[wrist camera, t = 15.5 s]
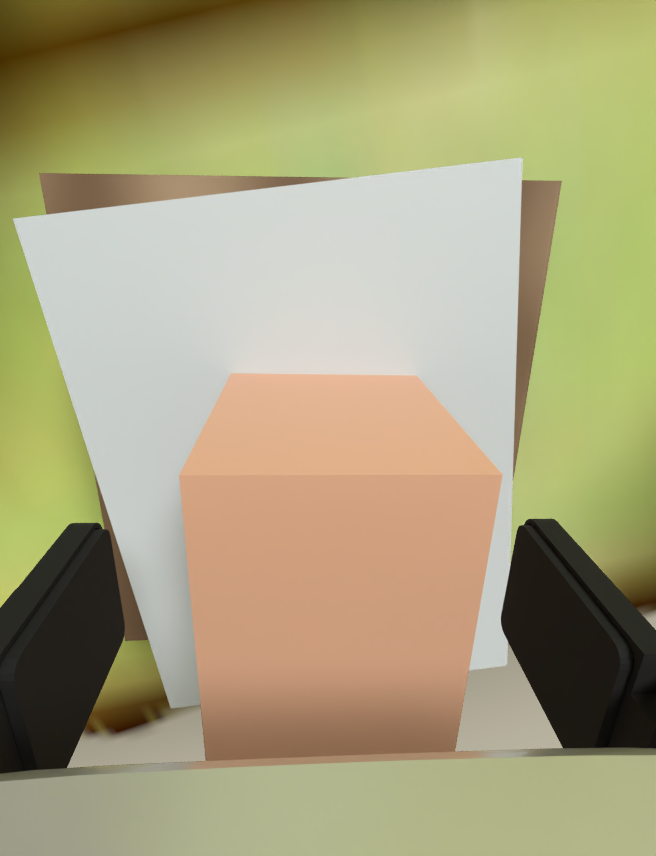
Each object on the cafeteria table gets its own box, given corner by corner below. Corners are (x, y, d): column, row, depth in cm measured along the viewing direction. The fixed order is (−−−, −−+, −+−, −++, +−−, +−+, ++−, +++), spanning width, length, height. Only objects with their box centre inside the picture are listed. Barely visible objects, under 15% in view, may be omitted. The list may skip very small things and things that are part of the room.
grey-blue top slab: (468, 177, 15) (522, 157, 11) (470, 589, 21) (507, 665, 17) (83, 223, 15) (12, 218, 11) (193, 624, 21) (170, 708, 17)
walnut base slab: (510, 192, 19) (561, 180, 15) (461, 571, 26) (488, 628, 22) (92, 186, 18) (39, 173, 14) (151, 580, 25) (125, 640, 21)
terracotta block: (416, 375, 13) (502, 474, 8) (396, 585, 16) (450, 775, 10) (230, 373, 13) (179, 475, 7) (241, 588, 15) (208, 785, 10)
